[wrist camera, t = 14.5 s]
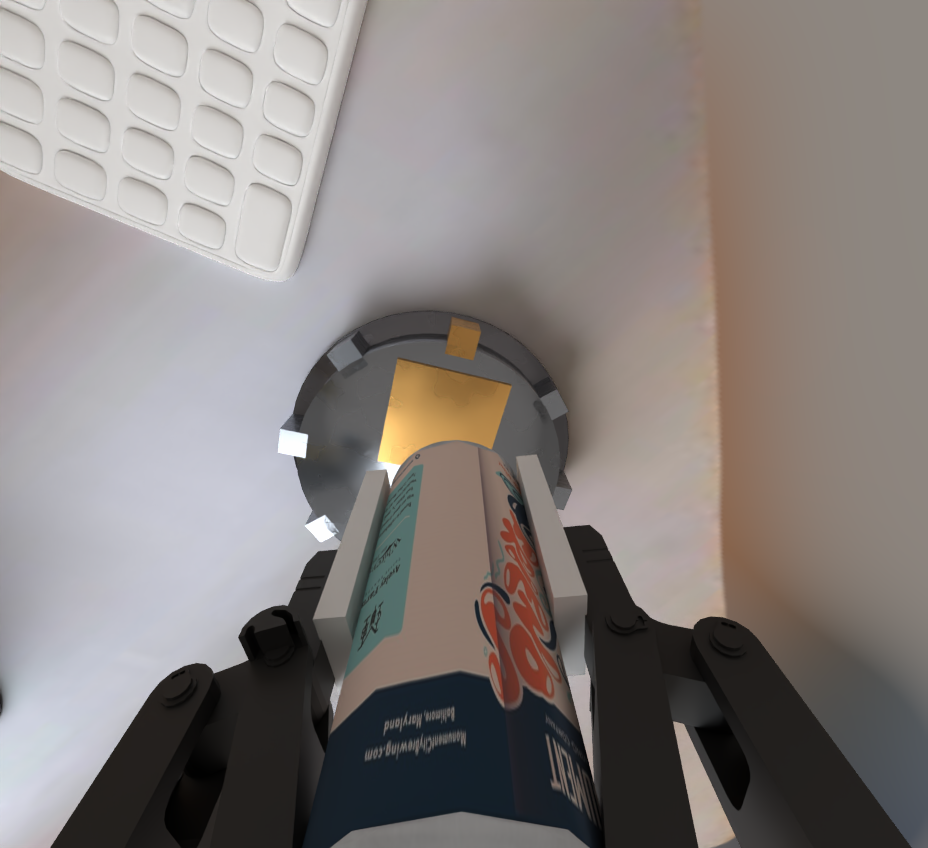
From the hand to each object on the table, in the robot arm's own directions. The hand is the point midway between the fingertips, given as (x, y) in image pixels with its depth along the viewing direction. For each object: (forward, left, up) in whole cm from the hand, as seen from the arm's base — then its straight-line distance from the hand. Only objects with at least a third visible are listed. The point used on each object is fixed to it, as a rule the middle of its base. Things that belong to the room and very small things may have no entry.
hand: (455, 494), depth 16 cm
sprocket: (0, -3, -9) cm, 10 cm away
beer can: (0, 0, -1) cm, 1 cm away
